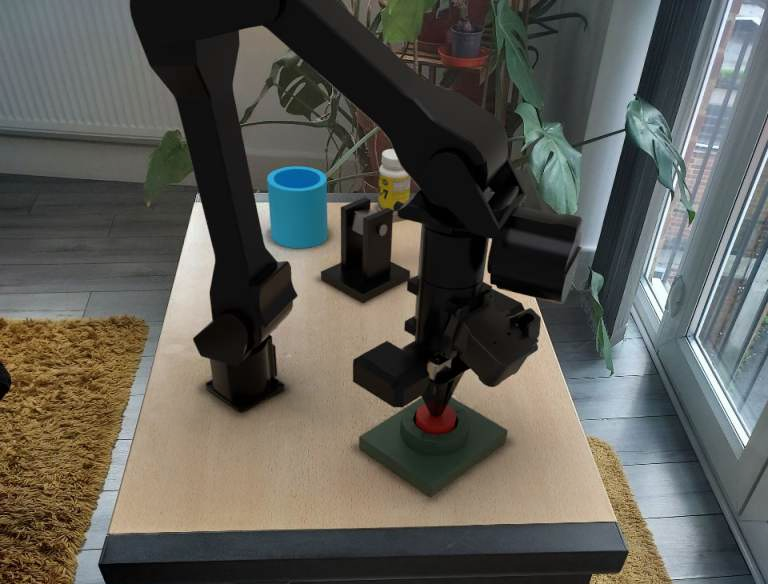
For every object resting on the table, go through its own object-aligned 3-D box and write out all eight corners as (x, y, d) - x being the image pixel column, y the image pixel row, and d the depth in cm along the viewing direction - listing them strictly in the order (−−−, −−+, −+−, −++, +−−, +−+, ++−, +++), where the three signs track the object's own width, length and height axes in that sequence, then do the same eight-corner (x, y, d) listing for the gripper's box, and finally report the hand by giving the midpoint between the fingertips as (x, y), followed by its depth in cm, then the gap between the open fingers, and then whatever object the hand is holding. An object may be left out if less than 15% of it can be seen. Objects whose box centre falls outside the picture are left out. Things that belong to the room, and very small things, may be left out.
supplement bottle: (373, 205, 122) (374, 149, 116) (401, 201, 123) (404, 145, 117) (384, 218, 119) (386, 161, 113) (413, 214, 120) (416, 158, 114)
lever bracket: (368, 257, 110) (369, 188, 103) (410, 279, 106) (414, 208, 99) (320, 279, 105) (318, 208, 98) (362, 303, 102) (364, 230, 95)
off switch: (430, 497, 77) (433, 471, 74) (358, 448, 82) (359, 422, 79) (505, 442, 83) (510, 416, 81) (435, 400, 88) (437, 374, 85)
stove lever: (398, 214, 108) (401, 196, 107) (431, 229, 106) (434, 211, 104) (341, 224, 101) (343, 206, 100) (374, 241, 99) (377, 222, 97)
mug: (331, 246, 112) (330, 189, 106) (274, 250, 111) (270, 192, 105) (320, 209, 120) (318, 154, 114) (266, 211, 119) (262, 156, 113)
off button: (436, 446, 79) (438, 432, 77) (407, 427, 81) (408, 414, 79) (462, 428, 81) (464, 414, 79) (433, 410, 83) (434, 397, 81)
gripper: (451, 354, 60) (434, 500, 71) (589, 271, 69) (555, 411, 80) (348, 296, 65) (348, 441, 76) (490, 227, 75) (471, 364, 86)
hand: (435, 414), depth 79 cm, fingers closed, pressing on off button
